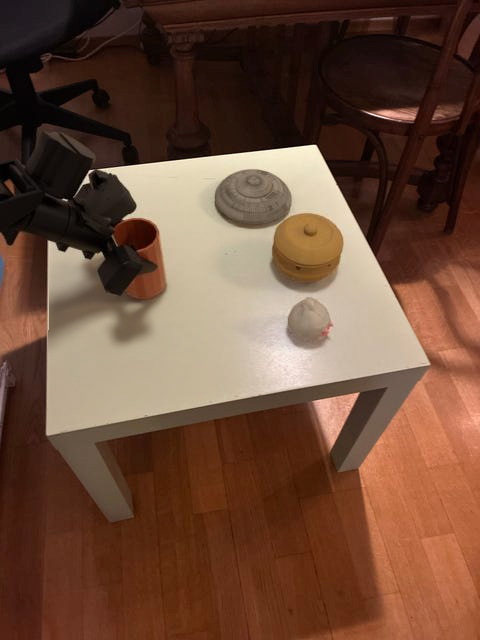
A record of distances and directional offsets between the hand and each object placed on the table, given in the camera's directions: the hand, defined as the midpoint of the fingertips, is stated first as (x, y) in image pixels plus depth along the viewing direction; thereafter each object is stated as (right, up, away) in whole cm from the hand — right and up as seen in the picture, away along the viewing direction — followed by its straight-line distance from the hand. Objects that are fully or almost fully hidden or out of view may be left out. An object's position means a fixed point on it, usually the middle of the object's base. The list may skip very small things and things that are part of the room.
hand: (147, 252), depth 76 cm
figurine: (+25, -13, +2) cm, 29 cm away
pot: (+26, -1, +10) cm, 28 cm away
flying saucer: (+17, +12, +19) cm, 29 cm away
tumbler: (-1, -4, +5) cm, 7 cm away
